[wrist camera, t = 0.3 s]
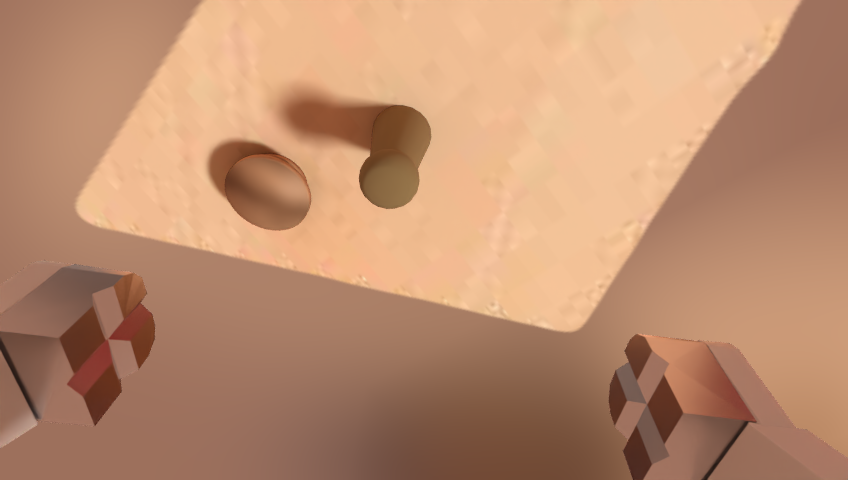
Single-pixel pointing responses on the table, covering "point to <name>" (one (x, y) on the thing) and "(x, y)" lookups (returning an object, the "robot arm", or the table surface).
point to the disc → (268, 191)
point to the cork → (395, 157)
